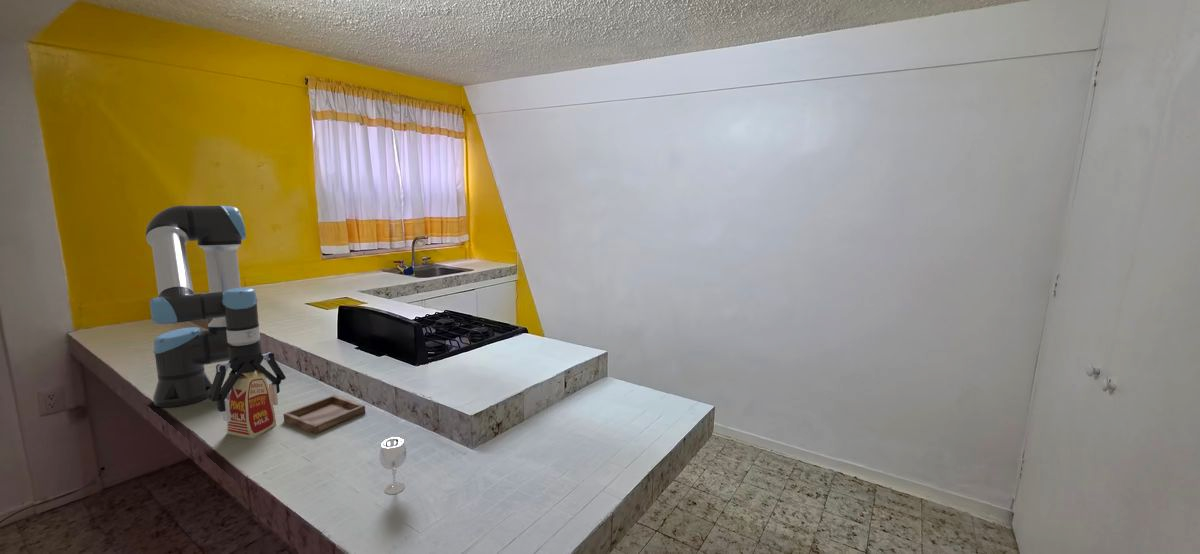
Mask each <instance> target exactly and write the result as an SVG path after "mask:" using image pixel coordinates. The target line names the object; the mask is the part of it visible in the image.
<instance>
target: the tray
mask: <svg viewBox="0 0 1200 554" xmlns="http://www.w3.org/2000/svg"><path fill="white" fill-rule="evenodd" d="M365 413H366V405H364V404H361V403H358V402H356V401H352V400H350V399H346V398H344V397H340V396H337V395H336V394H332V395H329V396H327V397H324V398H322V399H320V400H317V401H314V402H311V403H309V404H305V405H303V406H301V407H298V408H295V409H293V410H289V411H287V412H285V413H283V415H282V416H283V422H284V423H287V424H290V425H291V426H294V427H297V428H299V429H302V430H304V431H307V432H309V433H312V434H314V435H318V434H321V433H322V432H325V431H327V430H329V429H332V428H333V427H336V426H338V425H341V424H343V423H345V422H348V421H350V420H352V419H354V418H356V417H357V418H358V417H359V416H361V415H363V414H365Z"/></svg>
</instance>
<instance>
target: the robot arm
mask: <svg viewBox="0 0 1200 554" xmlns="http://www.w3.org/2000/svg"><path fill="white" fill-rule="evenodd" d="M146 226H147V227H146V229H145V239H146V242H147V244H148V245H149V246H151V250H152V258H153V264H154V272H155V279H156V280H155V282H156V288H157V294H158V297H153V298H151V299H149V308H150V315H151V322H152V323H153V324H155V325H166V324H167V325H169V324H174V325H175V324H178V323H185V322H191V321H192V322H193V321H199V320H200V321H201V320H210V319H212V320H210V322H209V323H208V324H207V329H208V330H201V329H200V327H197V326H191V327H183V328H177V329H174V330H170V331H168V332H164V333H162V334H160V335H158V336H157V337H155V338H154V340H153V354H154V357H155V358H154V359H155V365H156V372H157V373H156V374H157V383H156V386H155V390H154V392H153V393H154V394H153V396H152V397H153V398H152V400H153V405H154V406H155V407H158V408H174V407H175V408H177V407H182V406H183V407H184V406H187V405H191V404H194V403H197V402H198V403H199V402H202V401H203V400H206V399H207V400H209V401H211V402H216V405H217V411H218V412H221V416H222V420H223V421H224V422H226V423H227V422H230V421H231V416H230V407H229V399H228V398H227V397H228V395H230V394H229V393H231V389H232V387H233V386H234V384H235V382H236V381H237V379H238V378H240V376H241V375H242V373H249V372H255V370H258V371H260V372H262V373H263V374H264V375H265V378H266V380H269V382H270V383H268V387H269V390H270V394H271V398H272V403H273V406H278V405H279V401H278V400H279V399H278V394H279V393H280V391H281V388H280V385H281V384H282V381H284V380H286V375H285V373H284V372H283V370H282V369H281V368H280V366H279V364H278V362H277V361H276V360H275V353H273V352H270V351H266V352H265V353H263V354H262V341H261V340H260V339H261V335H260V334H261V332H260V323H259V313H258V297H257V293H256V290H255V289H253V288H251V287H250V288H249V287H242V285H241V277H240V276H241V275H240V268H239V267H240V266H239V260H238V258H239V257H238V249H239V248H240V247H242V241H244V240H246V239H247V234H246V233H247V232H246V226H245V222H244V219H243V216H242V214H241V212H240V210H239V209H238V208H237V207H235V206H230V205H174V206H169V207H167V208H165V209H163V210H161V211H160V212H158V213H156V214H155V216H153V218H152V219H151V220H150V221H149V223H148V224H147V225H146ZM193 241H197V246H198V248H200V249H202V250H203V251H204V255H205V264H206V266H205V267H206V272H207V281H208V282H207V283H208V290H209V292H207V293H196V294H195V293H194V292H195V291H194V288H193V281H192V276H191V275H192V274H191V270H190V263H189V260H188V254H187V248H186V245H187V243H188V242H193ZM263 360H265V361H266V362H267V364H268V366H269V368H270V369H271V371H272V372H273V373H274V374H275V375H273V374H272V373H271V372H270V371H269V370H267V368H265V367H264V366H263V365H262V362H263ZM227 361H228V363H224V364H223V363H222V362H227ZM216 363H218V364H217V365H216V366H215V371H216V373H215V375H214V378H213V381H212V382H211V380H210V379H209V377H208V375H207V373H206V370H205V365H211V364H216ZM220 363H222V364H220ZM229 368H230V369H231V370H230V372H229V374H228V377H227V378H226V375H227V372H228V370H229ZM225 378H226V380H225Z"/></svg>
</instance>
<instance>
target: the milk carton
mask: <svg viewBox="0 0 1200 554" xmlns="http://www.w3.org/2000/svg"><path fill="white" fill-rule="evenodd" d="M229 393H230V394H229V399H228V400H229V407H230V416H231V421H230V422H226V423H227V424H226V425H227V426H226V428H227V429H226V433H227V434H229V435H233V436H238V437H242V438H243V437H244V438H247V439H254V438H255V437H257V436H259V435H261V434H263V433H265V432H267V431H268V430H270V429H272V428H274V427H275V426H277V422H276V421H277V418H276V413H275V412H276V411H275V409H274V405H273V403H272V398H271V394H270V390H269V383H268V381H267V378H266V377H265V375H264V374H263V373H262V372H260V371H258V370H255V372H249V373H242V375H241V376H240V378H238V379H237V381H236V382H235V384H234V386H233V387H232V389H231V390H230V392H229Z"/></svg>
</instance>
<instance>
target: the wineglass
mask: <svg viewBox="0 0 1200 554" xmlns="http://www.w3.org/2000/svg"><path fill="white" fill-rule="evenodd" d="M406 450H407V449H406V445H405V443H404V439H402V438H400V437H390V438H388V439H385V440H384V441H383V442H382V443H381V446H380V450H379V451H380V452H379V461H380V464H381V466H382V467H383V468H384V469H387V470H391V474H392V481H393V482H392V483H389V485H387V486H386V487H385V488H384V493H386V494H388V495H396V494H399V493H401V492H402V491H403V490H404V489H405V487H406V486H405V484H404V482H403V483H402V482H401V481H399V482H396V475H397V474H396V473H397V469H398V468H400V467H401V466H403V464H405V462H406V459H407V451H406Z"/></svg>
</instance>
